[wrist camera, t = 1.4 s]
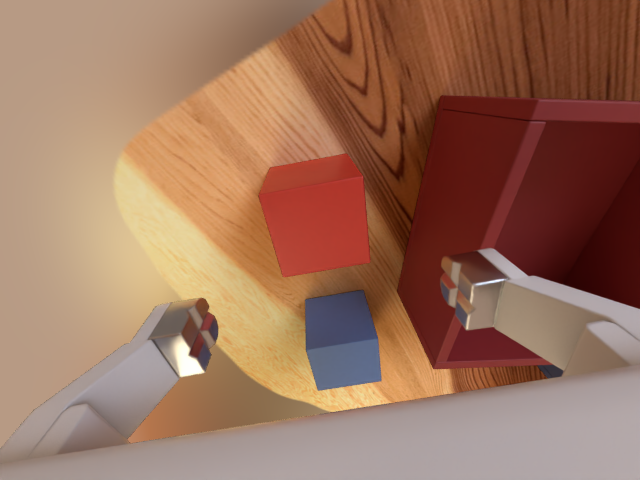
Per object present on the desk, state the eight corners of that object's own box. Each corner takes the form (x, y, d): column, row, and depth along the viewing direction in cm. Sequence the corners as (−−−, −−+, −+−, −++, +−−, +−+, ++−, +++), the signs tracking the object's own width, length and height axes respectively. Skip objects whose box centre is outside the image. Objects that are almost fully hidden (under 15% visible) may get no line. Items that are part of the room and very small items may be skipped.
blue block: (305, 299, 20) (305, 350, 16) (363, 289, 20) (378, 338, 16) (315, 338, 22) (318, 390, 18) (367, 329, 22) (381, 381, 18)
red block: (269, 167, 15) (257, 195, 11) (347, 153, 15) (363, 175, 11) (287, 235, 17) (282, 278, 13) (355, 223, 17) (370, 263, 13)
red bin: (440, 95, 14) (538, 99, 8) (672, 102, 14) (912, 110, 9) (396, 291, 20) (433, 369, 14) (557, 288, 21) (652, 361, 15)
